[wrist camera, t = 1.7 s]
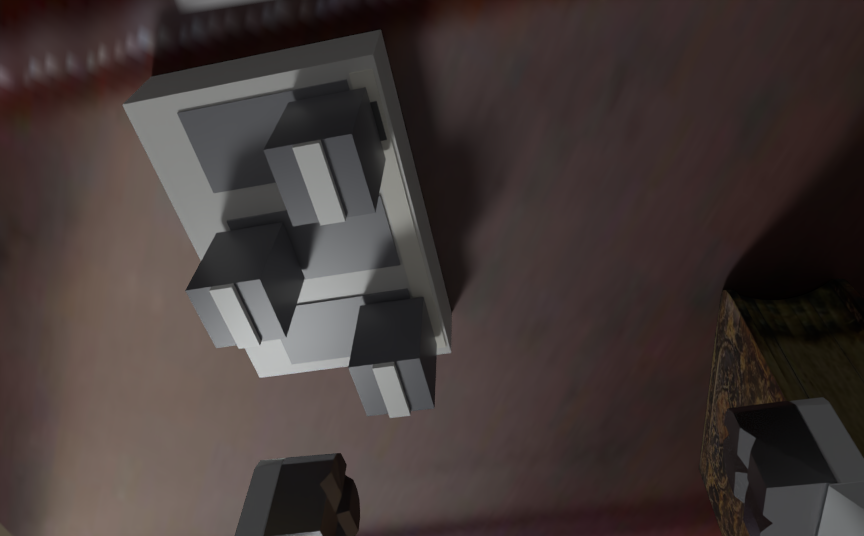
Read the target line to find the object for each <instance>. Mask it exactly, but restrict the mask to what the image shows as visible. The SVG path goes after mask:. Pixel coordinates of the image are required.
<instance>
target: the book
mask: <svg viewBox="0 0 864 536" xmlns="http://www.w3.org/2000/svg"><path fill="white" fill-rule="evenodd" d="M821 397H823V398H825V399H826V400H827V401H829V402H830V404H831V406H832V407H833V409H834V411H835V412H836V414H837V415H838V417H839V419H840V420H841V422H842V424H843V425H844V427H845V429H846V430H847V432H848V433H849V435H850V437H851V438H852V440H853V442H854V443H855V445H856V446H857V448H858V450H859V451H860V453H861V455H862V456H863V458H864V299H863V298H862V297H861V296H860V294H859V293H858V292H857V291H856V290H855V289H854V288H853V287H852V286H851V285H850V284H849V283H848V282H847V281H846V280H844V279H833V280H830V281H829V282H828V283H827V284H825V285H823V286H822V287H820V288H818V289H816V290H814V291H812V292H810V293H807V294H804V295H801V296H798V297H794V298H789V299H781V300H761V299H753V298H749V297H744V296H741V295H738V293H737V292H736V291H735V290H733V289H731V290H723V291H722V294H721V301H720V308H719V314H718V321H717V328H716V334H715V343H714V351H713V359H712V367H711V375H710V384H709V392H708V400H707V408H706V416H705V425H704V433H703V441H702V449H701V457H700V466H699V470H700V473H701V476H702V479H703V481H704V484H705V487H706V490H707V493H708V496H709V499H710V502H711V504H712V507H713V510H714V513H715V516H716V519H717V522H718V525H719V528H720V530H721V533H722V536H749V533H748V531H747V528H746V526H745V523H744V521H743V514H744V503H743V502H742V501H740V500H739V499H738V498H736V497H735V496H734V495H733V492H732V489H731V487H730V484H729V481H728V478H727V474H726V471H725V465H724V458H723V440H724V439H725V438H726V437H727V436H728V435H729V433H728V431H727V428H726V426H725V423H724V422H725V413H726V411H727V409H728V408H733V407H741V406H749V405H757V404H765V403H773V402H781V401H789V402H790V401H794V400H803V399H812V398H821Z"/></svg>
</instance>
